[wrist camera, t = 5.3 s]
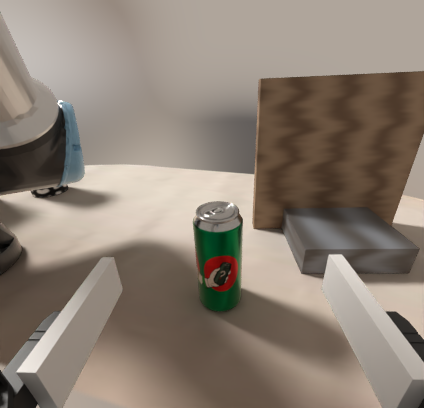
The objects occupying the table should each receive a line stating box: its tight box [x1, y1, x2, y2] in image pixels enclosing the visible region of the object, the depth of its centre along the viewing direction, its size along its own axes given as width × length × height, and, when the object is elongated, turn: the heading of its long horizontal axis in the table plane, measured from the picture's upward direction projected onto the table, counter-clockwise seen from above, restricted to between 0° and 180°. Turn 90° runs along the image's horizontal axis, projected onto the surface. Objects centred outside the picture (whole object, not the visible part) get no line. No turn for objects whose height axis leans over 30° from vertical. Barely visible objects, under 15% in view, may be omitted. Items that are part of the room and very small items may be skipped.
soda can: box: [193, 201, 243, 312], centre depth 25 cm, size 5×5×12 cm
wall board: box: [253, 71, 424, 273], centre depth 32 cm, size 24×14×24 cm, turn 88°
